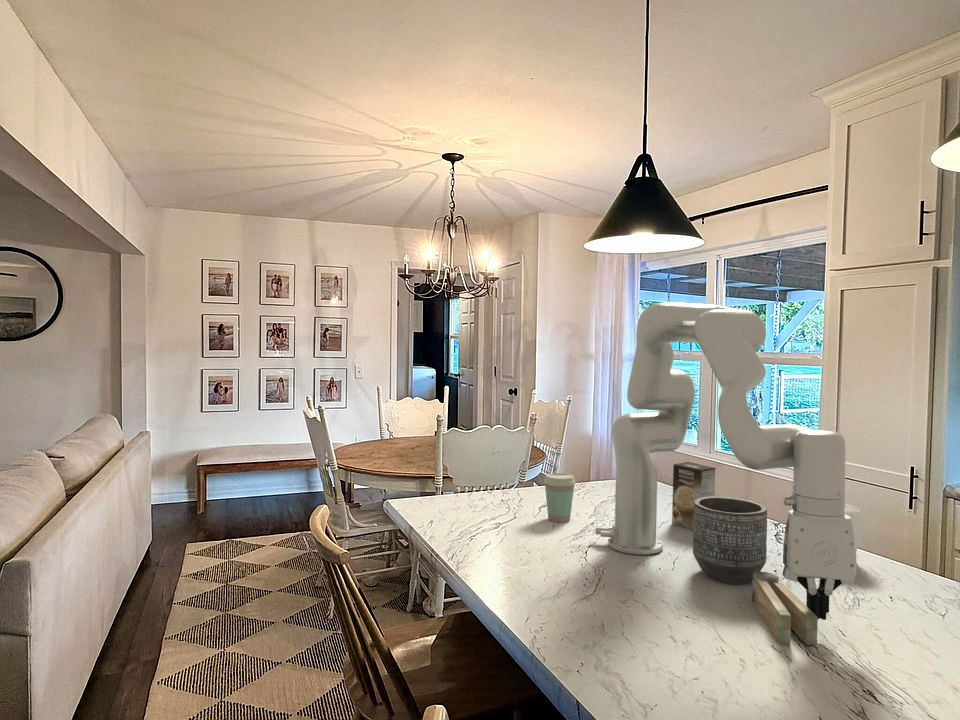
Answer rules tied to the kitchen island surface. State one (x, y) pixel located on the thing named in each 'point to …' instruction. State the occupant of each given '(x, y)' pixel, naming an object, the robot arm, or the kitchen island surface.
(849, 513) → the cup
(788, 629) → the tongs base
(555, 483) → the coffee cup
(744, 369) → the robot arm
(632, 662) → the kitchen island surface
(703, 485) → the coffee box
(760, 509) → the planter
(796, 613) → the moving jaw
